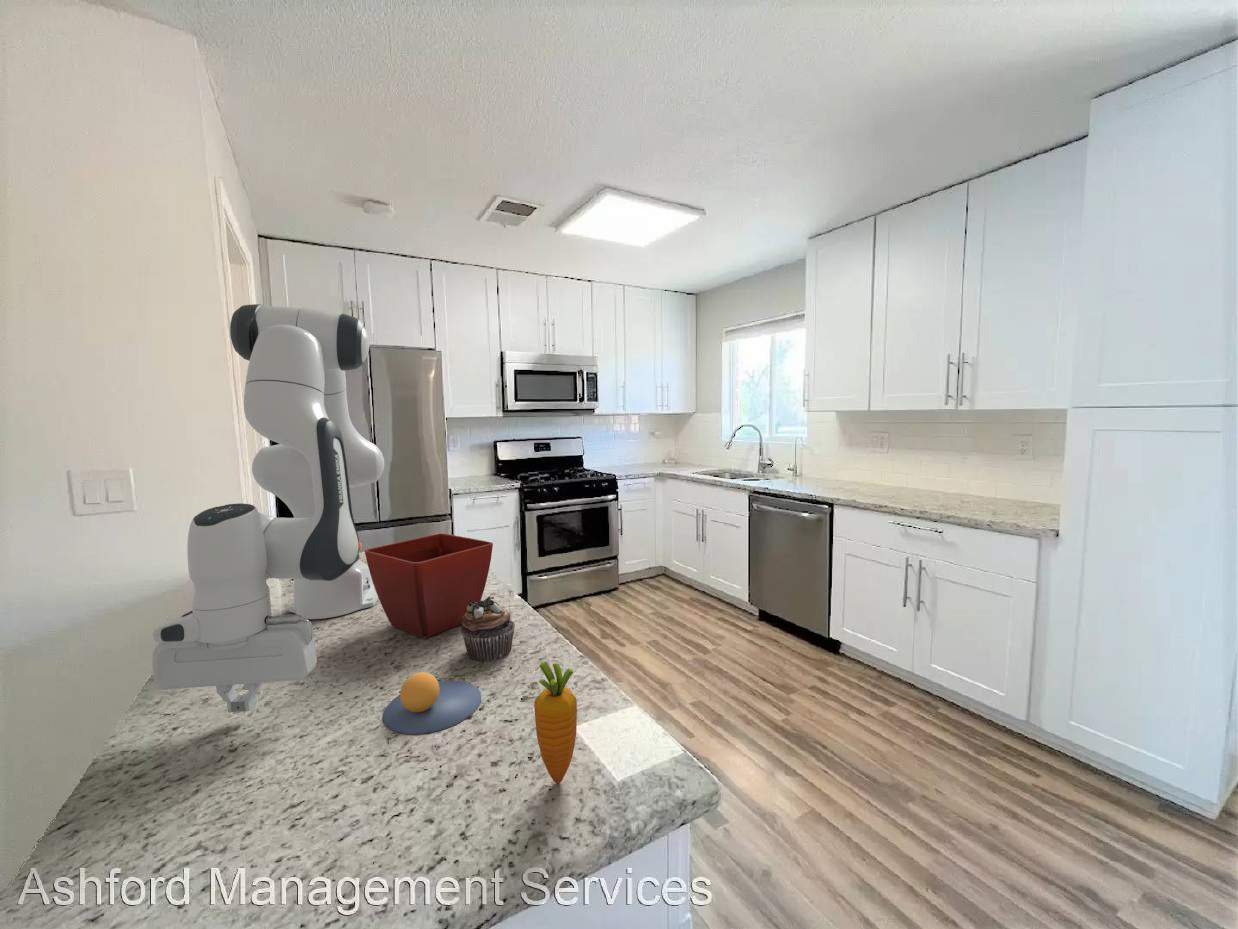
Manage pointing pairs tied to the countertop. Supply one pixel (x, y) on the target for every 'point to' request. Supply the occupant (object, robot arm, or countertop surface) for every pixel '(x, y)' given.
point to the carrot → (556, 721)
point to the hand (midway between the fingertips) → (242, 710)
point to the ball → (419, 692)
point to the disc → (435, 709)
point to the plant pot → (429, 580)
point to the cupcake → (487, 630)
